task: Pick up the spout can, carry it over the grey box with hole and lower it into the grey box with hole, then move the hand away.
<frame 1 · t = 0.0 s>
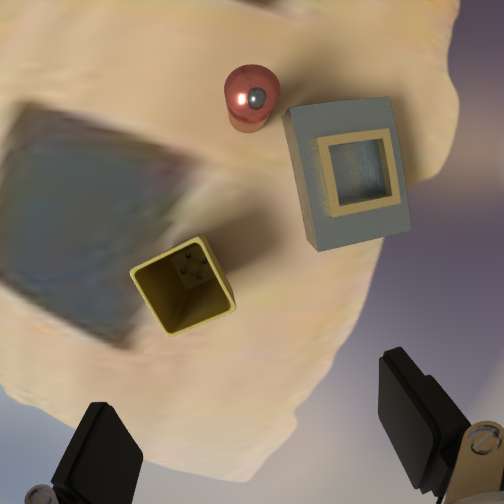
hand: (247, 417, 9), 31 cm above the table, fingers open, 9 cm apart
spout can: (247, 115, 36), on the table
grey box with hole: (340, 170, 38), on the table
flower pot: (193, 264, 41), on the table
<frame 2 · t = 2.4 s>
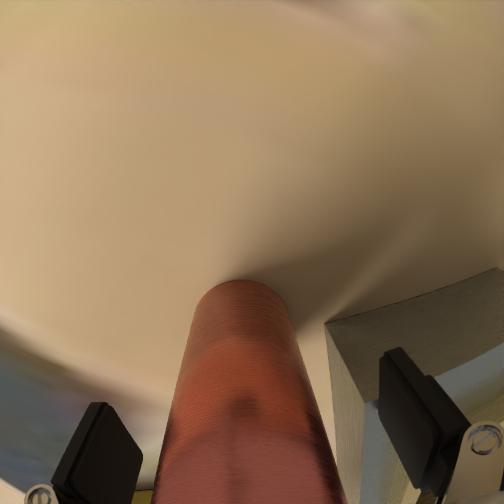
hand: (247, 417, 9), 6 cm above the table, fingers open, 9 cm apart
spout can: (241, 324, 15), on the table
grey box with hole: (417, 396, 17), on the table
flower pot: (165, 499, 20), on the table
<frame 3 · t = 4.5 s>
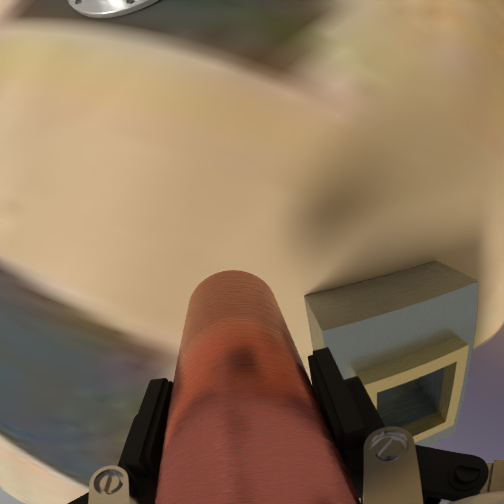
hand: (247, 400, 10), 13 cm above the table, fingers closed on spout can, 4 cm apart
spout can: (232, 312, 16), point 7 cm above the table, touching gripper
grey box with hole: (380, 359, 25), on the table
when the fingers open (8 cm above the table, at t = 9.0 s): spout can stays where it is, resting on grey box with hole.
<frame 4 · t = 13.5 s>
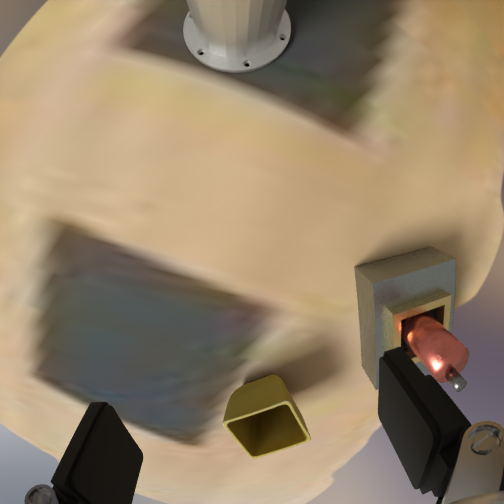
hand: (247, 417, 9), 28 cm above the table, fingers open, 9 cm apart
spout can: (401, 311, 38), point 2 cm above the table, touching grey box with hole
grey box with hole: (397, 309, 40), on the table
flower pot: (263, 389, 43), on the table
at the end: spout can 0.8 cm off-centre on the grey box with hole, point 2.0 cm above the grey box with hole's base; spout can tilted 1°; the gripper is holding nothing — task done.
